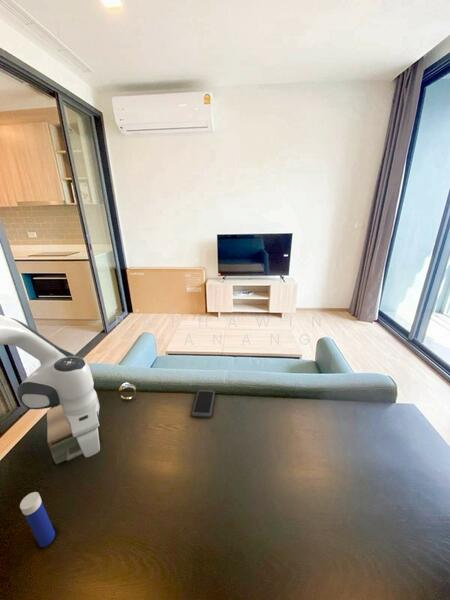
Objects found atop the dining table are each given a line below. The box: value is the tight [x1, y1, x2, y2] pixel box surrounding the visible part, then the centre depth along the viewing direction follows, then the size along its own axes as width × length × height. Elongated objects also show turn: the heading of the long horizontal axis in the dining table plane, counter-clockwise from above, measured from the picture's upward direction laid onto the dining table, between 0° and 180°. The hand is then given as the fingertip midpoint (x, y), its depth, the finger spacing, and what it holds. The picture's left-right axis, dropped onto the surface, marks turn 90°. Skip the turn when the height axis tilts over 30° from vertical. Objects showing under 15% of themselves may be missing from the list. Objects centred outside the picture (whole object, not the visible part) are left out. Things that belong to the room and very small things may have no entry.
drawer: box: [51, 435, 84, 465], centre depth 80 cm, size 19×11×7 cm, turn 35°
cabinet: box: [46, 405, 100, 464], centre depth 83 cm, size 16×13×9 cm
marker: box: [19, 491, 56, 548], centre depth 55 cm, size 3×3×14 cm
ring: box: [117, 382, 137, 401], centre depth 98 cm, size 7×3×8 cm, turn 98°
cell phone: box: [191, 389, 216, 418], centre depth 97 cm, size 7×14×1 cm, turn 175°
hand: (91, 442), depth 76 cm, fingers closed
